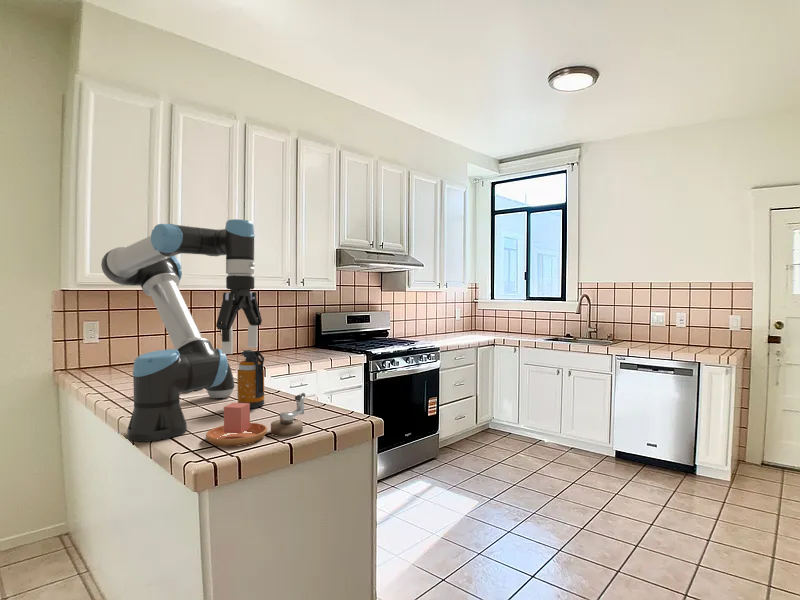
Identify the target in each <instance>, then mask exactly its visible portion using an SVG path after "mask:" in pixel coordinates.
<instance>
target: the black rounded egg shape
mask: <svg viewBox="0 0 800 600" xmlns="http://www.w3.org/2000/svg"><path fill="white" fill-rule="evenodd" d="M234 388H235V380H234V376H233V371H232V368H231V366H230V363H228V369H227V374H226V377H225V379H224V381H223V382H222V383H221V384H219V385H217V386H213V387H210V388H205V390H206V392H207V394H208V396H209V397H210V398H211V399H214V398H216V400H218V399H217V398H223V399H227V398H229V397H230V396H231V395H232V393H234V392H233V391H234ZM226 397H227V398H226Z"/></svg>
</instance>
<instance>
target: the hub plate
mask: <svg viewBox="0 0 800 600" xmlns="http://www.w3.org/2000/svg"><path fill="white" fill-rule="evenodd" d="M303 426H304V422H303V420H301V419H298V418H294V422H293V423H290V424H281V423H280V419H277V420H274V421H272V422H271V423H270V434H271V435H272V434H273V436H275V435H277V436H276V437H291V436H297V435H299V434H301V433H303V429H304V427H303Z"/></svg>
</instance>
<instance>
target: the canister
mask: <svg viewBox="0 0 800 600" xmlns="http://www.w3.org/2000/svg"><path fill="white" fill-rule="evenodd" d="M241 355H242V356H243V357H244V358H245V359H244V360H242V361H241V360H240V362H239V364H238V370H237V373H236V374H237V403H250V408H251V409H255V408H254V407H257V408H260V407H261V406H264V405H265V370H264V361H265V357H264V356H263V354H262V353H261V351H259V350H258V349H257V350H256V351H255V350H251V349H246V350H243V351H242V352H241ZM259 406H260V407H259Z"/></svg>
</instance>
